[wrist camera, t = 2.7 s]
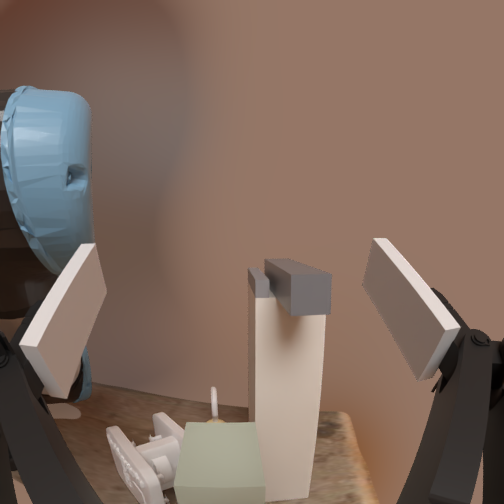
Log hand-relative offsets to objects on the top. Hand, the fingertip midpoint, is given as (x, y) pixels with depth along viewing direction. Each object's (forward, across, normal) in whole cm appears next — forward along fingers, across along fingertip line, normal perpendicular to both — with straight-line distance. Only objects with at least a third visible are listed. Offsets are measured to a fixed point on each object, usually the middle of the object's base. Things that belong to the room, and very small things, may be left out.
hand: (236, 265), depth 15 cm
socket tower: (+7, +7, -45) cm, 46 cm away
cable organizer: (+3, -12, -43) cm, 45 cm away
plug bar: (+16, +7, -14) cm, 23 cm away
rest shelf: (-9, -2, -37) cm, 38 cm away
